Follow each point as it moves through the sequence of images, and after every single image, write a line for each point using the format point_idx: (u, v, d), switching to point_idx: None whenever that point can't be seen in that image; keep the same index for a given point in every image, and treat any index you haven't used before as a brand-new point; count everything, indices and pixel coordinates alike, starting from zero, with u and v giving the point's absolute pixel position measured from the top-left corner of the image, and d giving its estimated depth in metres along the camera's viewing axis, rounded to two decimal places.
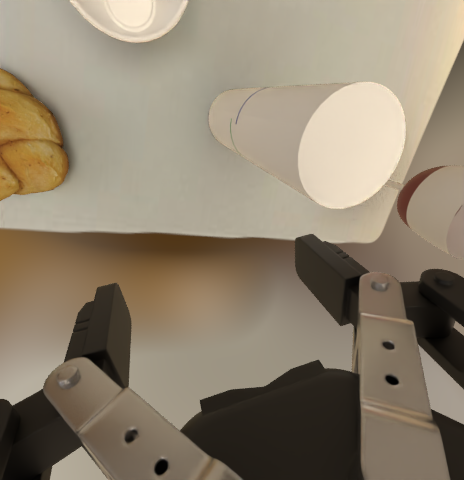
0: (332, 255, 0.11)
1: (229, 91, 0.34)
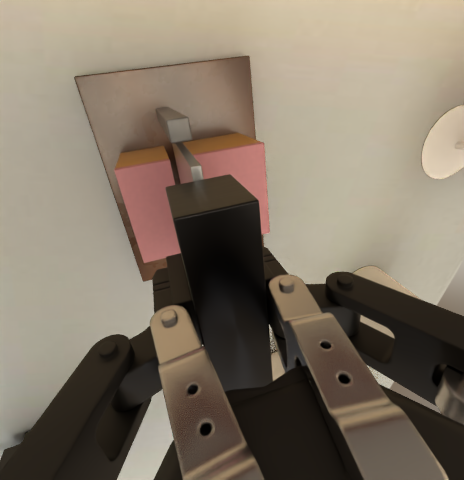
0: None
1: None
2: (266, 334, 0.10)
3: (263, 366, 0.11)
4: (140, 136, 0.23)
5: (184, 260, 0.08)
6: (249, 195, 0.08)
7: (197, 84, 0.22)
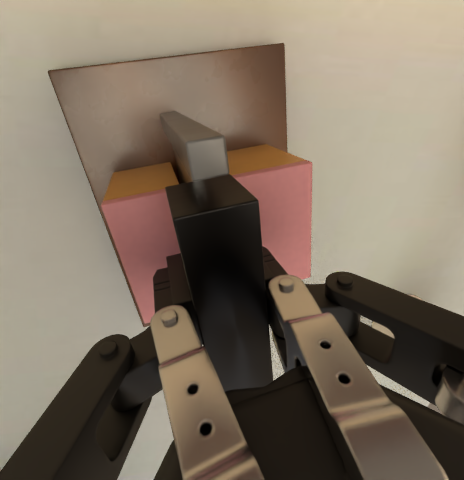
0: None
1: None
2: (266, 334, 0.10)
3: (263, 366, 0.11)
4: (140, 150, 0.17)
5: (184, 260, 0.08)
6: (249, 195, 0.08)
7: (215, 81, 0.17)
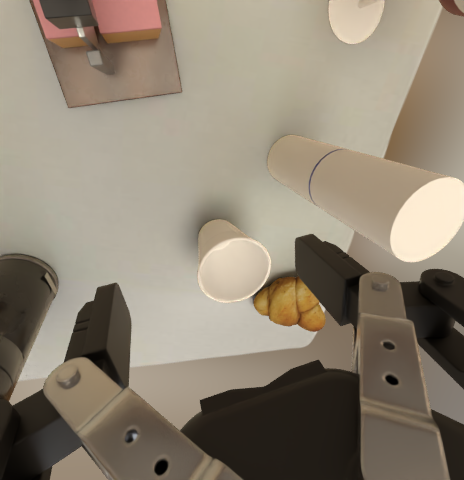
0: (332, 255, 0.11)
1: (275, 173, 0.41)
2: None
3: None
4: None
5: None
6: None
7: None
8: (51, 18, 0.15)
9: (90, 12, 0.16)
